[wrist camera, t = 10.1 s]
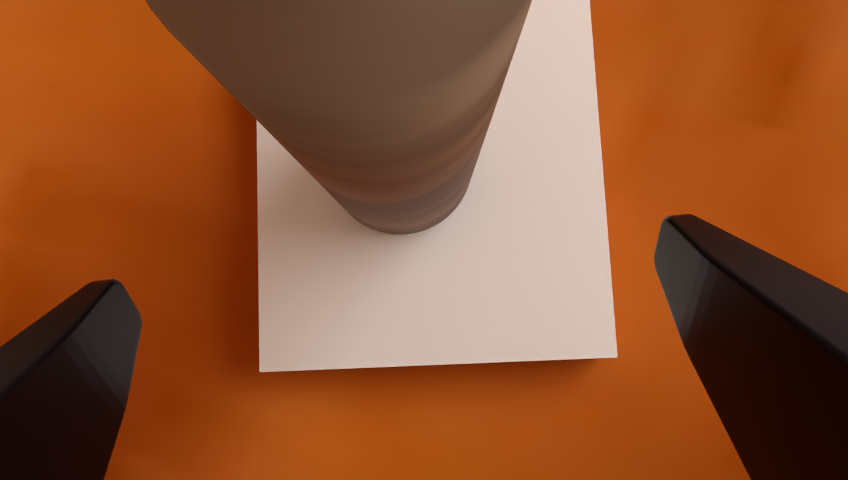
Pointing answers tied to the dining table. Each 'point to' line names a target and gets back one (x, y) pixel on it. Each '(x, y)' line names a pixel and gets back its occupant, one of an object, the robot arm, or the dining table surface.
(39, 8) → the dining table surface
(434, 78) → the walnut roller
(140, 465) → the dining table surface
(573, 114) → the stone slab
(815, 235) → the dining table surface
